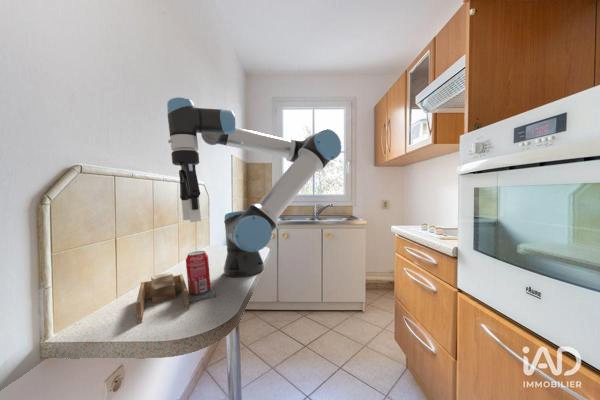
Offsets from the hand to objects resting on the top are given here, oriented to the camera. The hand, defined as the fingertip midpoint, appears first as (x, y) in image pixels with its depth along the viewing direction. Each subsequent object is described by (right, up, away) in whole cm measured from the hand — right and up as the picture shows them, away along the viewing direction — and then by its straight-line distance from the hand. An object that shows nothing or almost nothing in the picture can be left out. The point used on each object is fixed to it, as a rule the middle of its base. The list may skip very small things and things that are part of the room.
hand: (191, 220), depth 75 cm
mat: (+3, -22, -1) cm, 22 cm away
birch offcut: (-8, -19, -2) cm, 21 cm away
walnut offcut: (-7, -23, -2) cm, 24 cm away
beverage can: (+3, -22, -1) cm, 22 cm away
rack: (-5, -23, -6) cm, 24 cm away
